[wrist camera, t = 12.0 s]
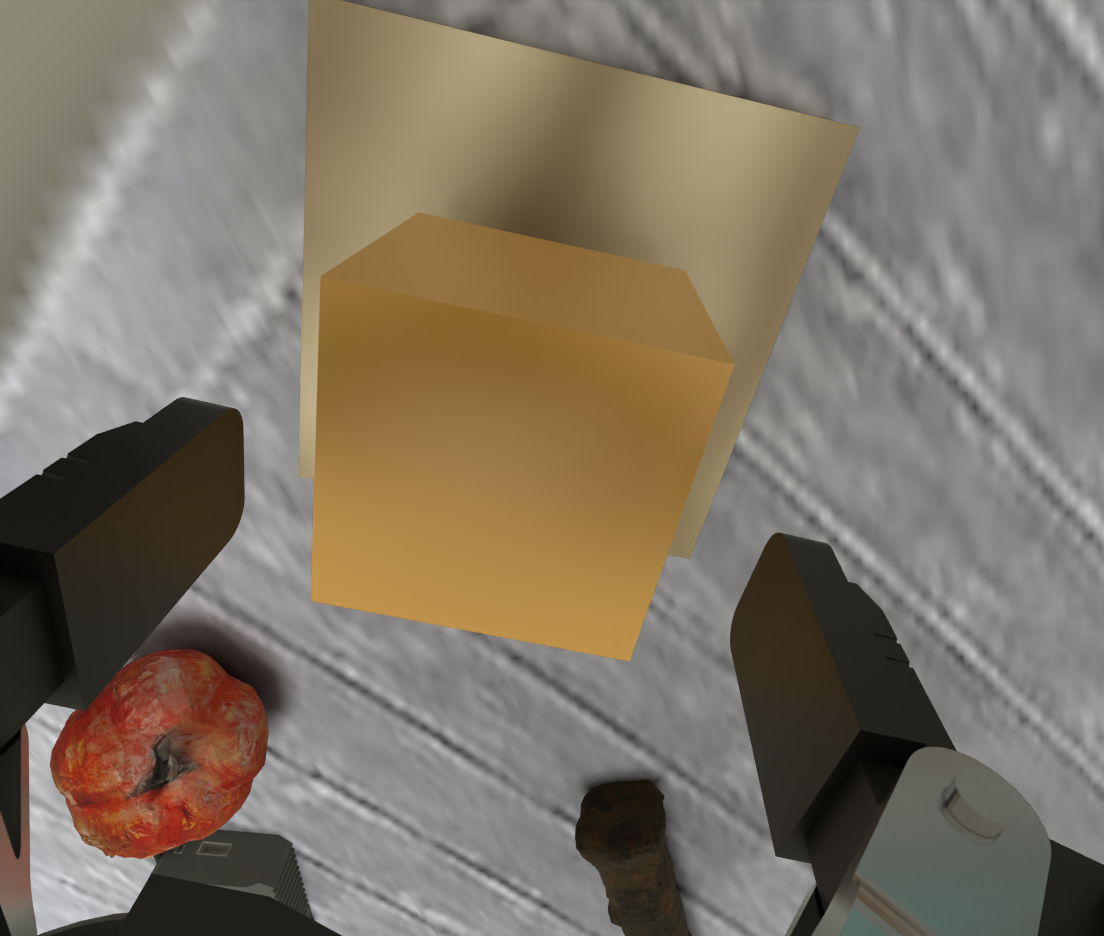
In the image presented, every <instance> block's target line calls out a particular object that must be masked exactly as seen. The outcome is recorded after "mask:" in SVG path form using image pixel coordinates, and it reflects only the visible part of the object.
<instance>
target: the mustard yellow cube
mask: <svg viewBox="0 0 1104 936" xmlns="http://www.w3.org/2000/svg"><path fill="white" fill-rule="evenodd" d="M733 367H734V363H733V361H732V359H731V357H730V355H729V353H728V351H727V349H726V347H725V345H724V344H723V342H722V340H721V338H720V336H719V334H718V332H717V330H716V328H715V326H714V324H713V323H712V321H711V319H710V317H709V315H708V313H707V311H706V309H705V307H704V305H703V303H702V302H701V300H700V298H699V296H698V294H697V292H696V290H695V288H694V286H693V284H692V282H691V280H690V279H689V277H688V275H687V273H686V271H685V270H680V269H676V268H671V267H667V266H662V265H658V264H653V263H649V262H644V261H639V260H635V259H630V258H626V257H621V256H617V255H612V254H607V253H603V252H598V251H594V250H589V249H585V248H580V247H575V246H571V245H566V244H562V243H557V242H553V241H548V240H543V239H539V238H534V237H530V236H525V235H521V234H516V233H511V232H507V231H502V230H498V229H493V228H489V227H484V226H479V225H475V224H470V223H466V222H461V221H457V220H452V219H447V218H443V217H438V216H434V215H429V214H425V213H420V212H418V213H417V214H415V215H414V216H412V217H410V218H409V219H407V220H406V221H404V222H403V223H401V224H400V225H398V226H397V227H395V228H394V229H392V230H391V231H389V232H388V233H386V234H384V235H383V236H381V237H380V238H378V239H377V240H375V241H374V242H372V243H371V244H369V245H368V246H366V247H365V248H363V249H362V250H360V251H358V252H357V253H355V254H354V255H352V256H351V257H349V258H348V259H346V260H345V261H343V262H342V263H340V264H339V265H337V266H336V267H334V268H332V269H331V270H329V271H328V272H326V273H325V274H323V275H322V276H320V304H319V338H318V372H317V407H316V441H315V476H314V510H313V544H312V579H311V601H314V602H319V603H324V604H330V605H335V606H340V607H346V608H351V609H356V610H361V611H367V612H372V613H377V614H382V615H388V616H393V617H398V618H404V619H409V620H414V621H419V622H425V623H430V624H435V625H440V626H446V627H451V628H456V629H462V630H467V631H472V632H477V633H483V634H488V635H493V636H499V637H504V638H509V639H514V640H520V641H525V642H530V643H535V644H541V645H546V646H551V647H557V648H562V649H567V650H572V651H578V652H583V653H588V654H593V655H599V656H604V657H609V658H615V659H620V660H625V661H630V659H631V656H632V653H633V650H634V647H635V645H636V642H637V639H638V636H639V633H640V630H641V628H642V625H643V622H644V619H645V616H646V613H647V611H648V608H649V605H650V602H651V599H652V597H653V594H654V591H655V588H656V585H657V582H658V580H659V577H660V574H661V571H662V568H663V565H664V563H665V560H666V557H667V554H668V551H669V548H670V546H671V543H672V540H673V537H674V534H675V531H676V529H677V526H678V523H679V520H680V517H681V515H682V512H683V509H684V506H685V503H686V500H687V498H688V495H689V492H690V489H691V486H692V483H693V481H694V478H695V475H696V472H697V469H698V466H699V464H700V461H701V458H702V455H703V452H704V449H705V447H706V444H707V441H708V438H709V435H710V433H711V430H712V427H713V424H714V421H715V418H716V416H717V413H718V410H719V407H720V404H721V401H722V399H723V396H724V393H725V390H726V387H727V384H728V382H729V379H730V376H731V373H732V370H733Z"/></svg>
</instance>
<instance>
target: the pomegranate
mask: <svg viewBox="0 0 1104 936" xmlns="http://www.w3.org/2000/svg"><path fill="white" fill-rule="evenodd" d="M268 733H269V732H268V723H267V718H266V713H265V710H264V706H263V703H262V701H261V700H260V698H259V697H258V695H257V693H256V691H255V689H254V688H253V687H252V686H251V685H249V684H246V683H244V682H242V681H240V680H238V679H236V678H234V677H232V676H231V675H229V674H228V673H227V672H226V671H225V670H224V669H223V668H222V667H221V666H220V665H219V664H218V663H217V662H216V661H215V660H214V659H213V658H212V657H210V656H209V655H208V654H205V653H202V652H199V651H196V650H193V649H178V650H175V649H167V650H162V651H157V652H154V653H151V654H148V655H145V656H143V657H141V658H139V659H137V660H135V661H133V662H131V663H129V664H127V665H126V666H124V667H123V668H121V669H120V670H119V672H118V673H117V674H116V675H115V676H114V677H113V679H112V680H111V681H110V682H109V683H108V685H107V686H106V687H105V688H104V689H103V690H102V692H101V693H100V694H99V695H98V696H97V698H96V699H95V700H94V701H93V702H92V703H91V705H90V706H89V707H88V708H87V709H86V711H81V710H77V709H76V710H75V711H74V712H73V713H72V714H71V715H70V716H69V718H68V720H67V721H66V724H65V727H64V728H63V730H62V731H61V733H60V735H59V737H58V739H57V741H56V743H55V745H54V747H53V750H52V753H51V761H50V768H51V773H52V777H53V780H54V783H55V785H56V787H57V789H58V790H59V791H60V793H61V794H62V795H64V796H65V799H66V803H67V806H68V808H69V811H70V813H71V815H72V818H73V822H74V827H75V828H76V830H77V831H78V833H79V834H80V836H81V839H82V840H83V841H84V842H85V843H86V844H88V845H91V846H94V847H97V848H99V849H100V850H102V851H103V852H104V854H105V855H106V856H108V855H109V856H110V857H111V858H112V857H114V856H115V855H118V856H121V857H123V858H126V857H134V858H139V859H141V858H149V859H150V858H151V857H153V856H154V855H156V854H160V853H162V852H165V851H167V850H170V849H172V848H175V847H178V846H180V845H182V844H184V843H186V842H188V841H193V840H201V839H204V838H206V837H208V836H209V835H211V834H213V833H214V832H215V831H217V830H218V829H219V828H220V827H221V826H223V825H224V824H225V823H226V822H227V821H228V820H229V819H230V818H231V817H233V815H234V814H235V813H236V812H237V811H238V810H239V809H240V808H241V807H242V805H243V803H244V802H245V800H246V798H247V797H248V795H249V793H250V790H251V786H252V782H253V778H254V777H256V776H257V774H258V773H259V771H260V770H261V769H262V767H263V766H264V764H265V759H266V750H267V742H268Z"/></svg>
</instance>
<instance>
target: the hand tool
mask: <svg viewBox="0 0 1104 936" xmlns="http://www.w3.org/2000/svg"><path fill="white" fill-rule="evenodd" d="M663 800H664V795H663V794H662V793H661V792H660V791H659V790H658V789H657V788H656V787H655V786H654V785H653V784H652V783H651V782H650V781H649V780H641V781H633V782H615V783H609V784H604V785H601V786H598V787H595V788H593V789H592V790H590V791H589V792H588V793H587V794H586V795H585V797H584V799H583V801H582V803H581V814H580V818H579V820H578V822H577V825H576V831H575V840H576V849H577V850H578V851H579V852H580V854H581V856H582V857H583V858H584V859H586V860H587V861H588V862H590V863H591V864H592V865H593V866H595V867H596V869H597V870H598V871H599V873H600V875H601V878H602V881H603V884H604V886H605V888H606V895H607V898H608V899H609V905H608V913H609V916H610V920H611V922H612V923H613V924H615V925H617V926H620V927H622V930H623V932H624V934H625V936H691V934H690V932H689V931H688V929H687V924H686V920H685V916H684V912H683V908H682V903H681V899H680V897H679V895H678V892H677V889H676V884H675V875H674V873H673V866H672V862H671V858H670V854H669V853H668V852H667V847H666V845H665V843H664V841H663V838H664V834H665V830H666V819H665V810H664V806H663Z"/></svg>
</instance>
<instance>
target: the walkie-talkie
mask: <svg viewBox="0 0 1104 936" xmlns="http://www.w3.org/2000/svg"><path fill="white" fill-rule="evenodd" d="M292 845H293V844H292V843H291V842H289V841H288V840H286V839H284V838H283V837H281V836H280V835H272V834H260V833H248V832H236V831H224V830H217V831H215V832H214V833H213V834H211V835H209V836H208V837H206V838H204V839H201V840H193V841H188V842H186V843H184V844H182V845H180V846H178V847H175V848H172V849H170V850H167V851H165V852H162V853H160V854H156V855H154V858H155V861H156V863H157V864H156V866H155V868H154V870H153V871H152V873H151V874H157V875H162V876H167V877H172V878H178V879H183V880H188V881H193V882H198V883H203V884H208V885H213V886H218V887H223V888H228V889H233V890H239V891H244V892H249V893H254V894H259V895H264V896H269V897H271V898H273V899H275V900H277V901H279V902H281V903H282V904H284V905H286V906H288V907H290V908H292V909H294V910H295V911H297V912H299V913H301V914H303V915H305V916H306V917H308V918H310V919H312V920H313V917H312V914H311V910H310V906H309V904H307V902H308V899H306V896H307V895H306V894H305V893H304V892H305V888H303V885H304V884H303V883H302V882H301V881H302V877H300V874H301V873H300V872H299V871H298V869H299V866H297V860H295V857H296V854H293V852H294V848H292Z"/></svg>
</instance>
